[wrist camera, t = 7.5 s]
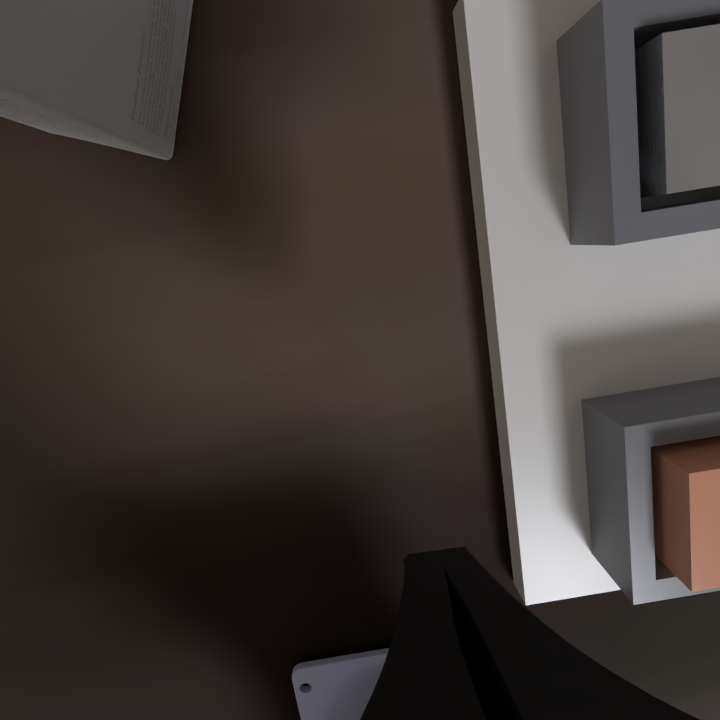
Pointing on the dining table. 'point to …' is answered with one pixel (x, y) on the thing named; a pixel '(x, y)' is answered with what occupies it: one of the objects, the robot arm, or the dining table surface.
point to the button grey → (679, 111)
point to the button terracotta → (688, 510)
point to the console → (585, 286)
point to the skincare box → (96, 69)
